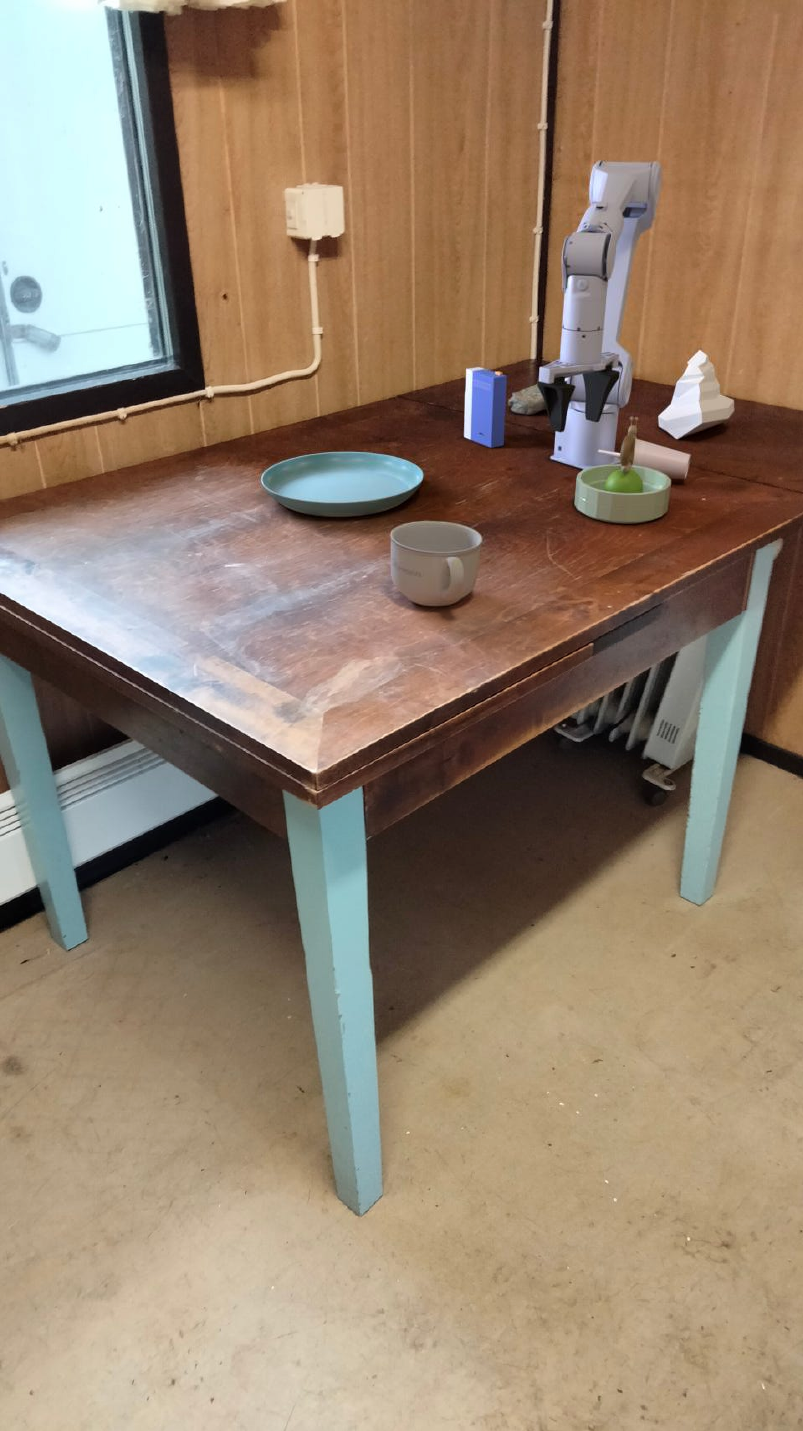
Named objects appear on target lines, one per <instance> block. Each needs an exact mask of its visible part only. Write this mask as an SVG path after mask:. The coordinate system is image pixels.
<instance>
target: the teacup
mask: <svg viewBox="0 0 803 1431" xmlns="http://www.w3.org/2000/svg"><path fill="white" fill-rule="evenodd" d="M389 539H390V577H391V580H392V583H393V585H394V587H395V588H396V589H397V590H398V591H399V592H400V593H401V594H403V596H404V597H405V598H406V599H408V600H409V601H410V602H412V603H415V604H418V605H422V606H427V607H444V606H451V605H453V604H456V603H457V602H459V601H460V600H461V599H462V598H464V597H466V596H467V595H469V594H470V593H471V592H472V591H473V589H474V588H475V586H476V583H477V580H478V576H479V569H480V560H481V551H482V550H481V549H482V545H483V536H482V535H481V533H480V532H478V530H475V529H474V528H471V527H469V526H467V525H463V524H460V523H455V522H449V521H438V520H437V521H436V520H423V521H422V520H421V521H412V522H407V523H403V524H400V525H398V526H396V527H395V528H393V529H392V530H391V532H390V534H389Z"/></svg>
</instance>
